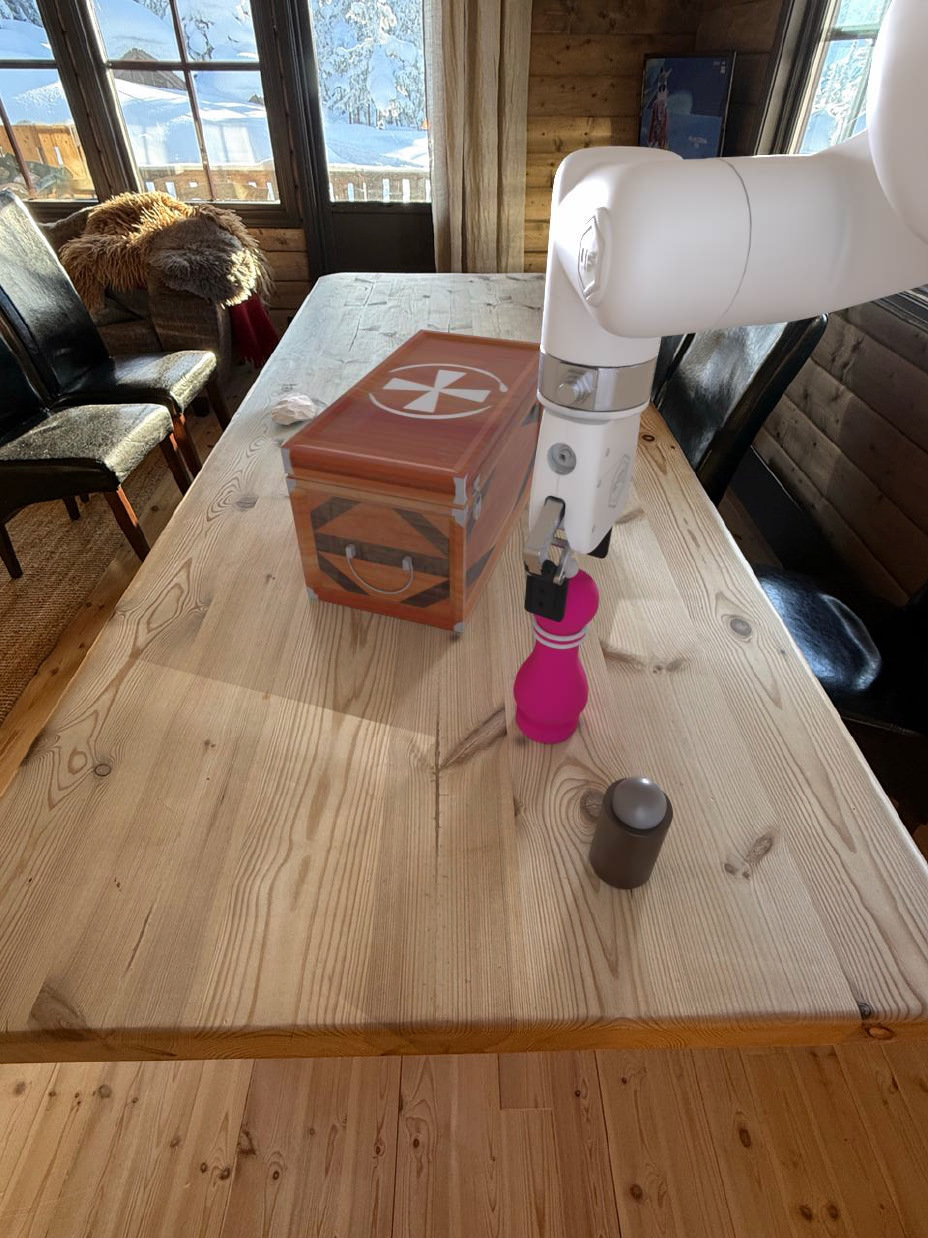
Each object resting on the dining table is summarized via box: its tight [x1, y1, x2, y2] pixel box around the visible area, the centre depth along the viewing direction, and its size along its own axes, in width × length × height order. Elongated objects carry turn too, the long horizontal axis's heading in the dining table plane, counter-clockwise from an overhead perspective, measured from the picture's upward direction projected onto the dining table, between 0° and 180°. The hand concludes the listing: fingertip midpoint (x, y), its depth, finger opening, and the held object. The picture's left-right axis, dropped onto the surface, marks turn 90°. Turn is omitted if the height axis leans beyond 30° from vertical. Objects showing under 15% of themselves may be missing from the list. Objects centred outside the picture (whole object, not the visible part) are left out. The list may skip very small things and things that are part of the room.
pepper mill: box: [512, 557, 600, 744], centre depth 60 cm, size 7×7×20 cm
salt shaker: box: [589, 775, 674, 891], centre depth 52 cm, size 5×5×10 cm
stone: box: [270, 392, 317, 426], centre depth 121 cm, size 8×14×2 cm, turn 5°
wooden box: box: [279, 328, 545, 634], centre depth 86 cm, size 20×41×20 cm, turn 162°
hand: (567, 582), depth 55 cm, fingers open, 9 cm apart
